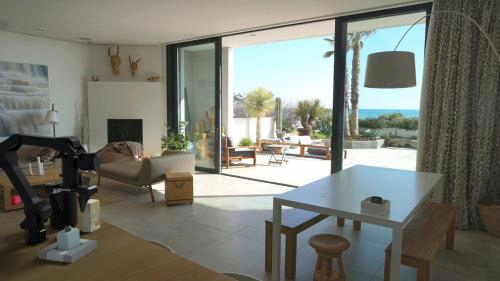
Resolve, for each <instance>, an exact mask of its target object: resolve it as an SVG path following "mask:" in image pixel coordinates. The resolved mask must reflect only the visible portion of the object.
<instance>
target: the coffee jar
mask: <svg viewBox="0 0 500 281" xmlns="http://www.w3.org/2000/svg"><path fill="white" fill-rule="evenodd" d="M59 183H62V181H59ZM47 197H48V199H47V200H48V203H49V205H50V206H51V207H52V208H51V210H52V213H51V216H50V217H49V218H48V221H49V227H50V228H51V229H52V230H57V231H62V230H64V229H65V226H71V228H75V226H77V224H78V222H79V216H78V215H79V214H78V213H79V212H78V211H79V210H78V208H79V206H78V192H72V191H65V192H64V194H63V210H62V211H60V210H59V208H58V207H57V205H56V204H55V202H54V201H53V199H52V198H51V197H50V196H49V195H48V194H47Z"/></svg>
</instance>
